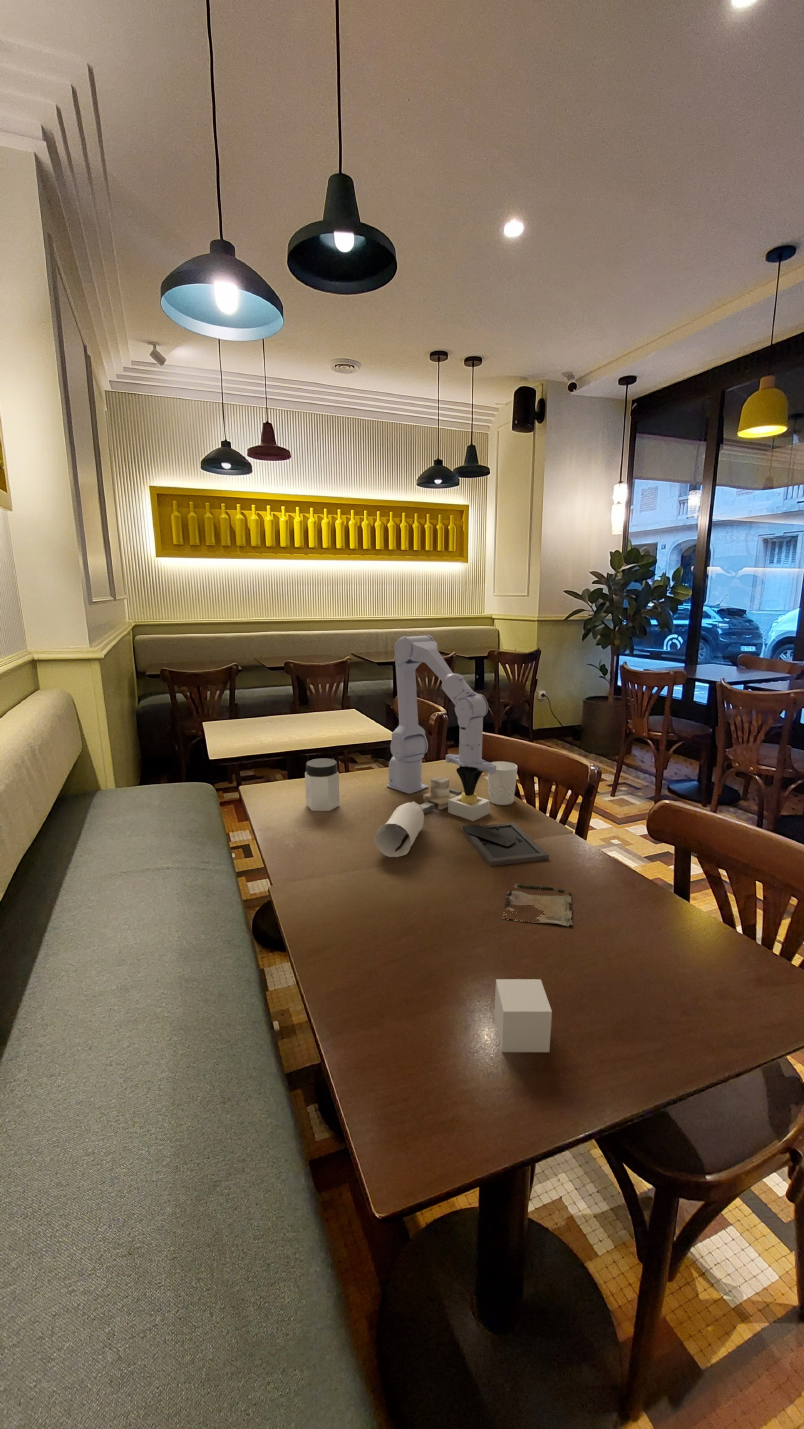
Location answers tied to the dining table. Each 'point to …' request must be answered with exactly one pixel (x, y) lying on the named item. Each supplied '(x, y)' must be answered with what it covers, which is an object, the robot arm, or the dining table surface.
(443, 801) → the carriage
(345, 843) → the dining table surface
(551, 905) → the parchment
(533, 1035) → the white cube
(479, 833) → the picture frame
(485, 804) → the frame
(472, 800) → the cylinder
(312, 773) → the jar
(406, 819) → the white hollow cylinder
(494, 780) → the white cup
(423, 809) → the gray block handle
